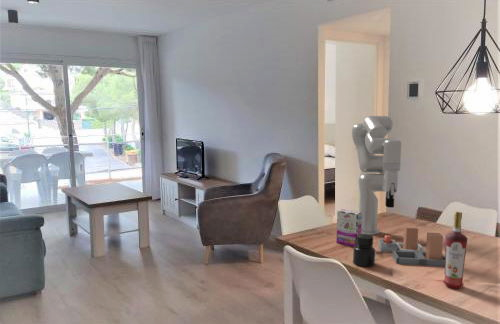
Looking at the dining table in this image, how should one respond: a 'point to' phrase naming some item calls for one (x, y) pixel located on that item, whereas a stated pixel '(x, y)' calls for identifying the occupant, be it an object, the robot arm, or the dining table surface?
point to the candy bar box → (348, 227)
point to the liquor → (455, 254)
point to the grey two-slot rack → (416, 258)
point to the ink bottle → (364, 251)
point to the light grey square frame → (410, 250)
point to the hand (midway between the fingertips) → (389, 206)
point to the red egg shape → (387, 239)
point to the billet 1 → (410, 237)
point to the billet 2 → (434, 246)
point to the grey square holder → (387, 246)
